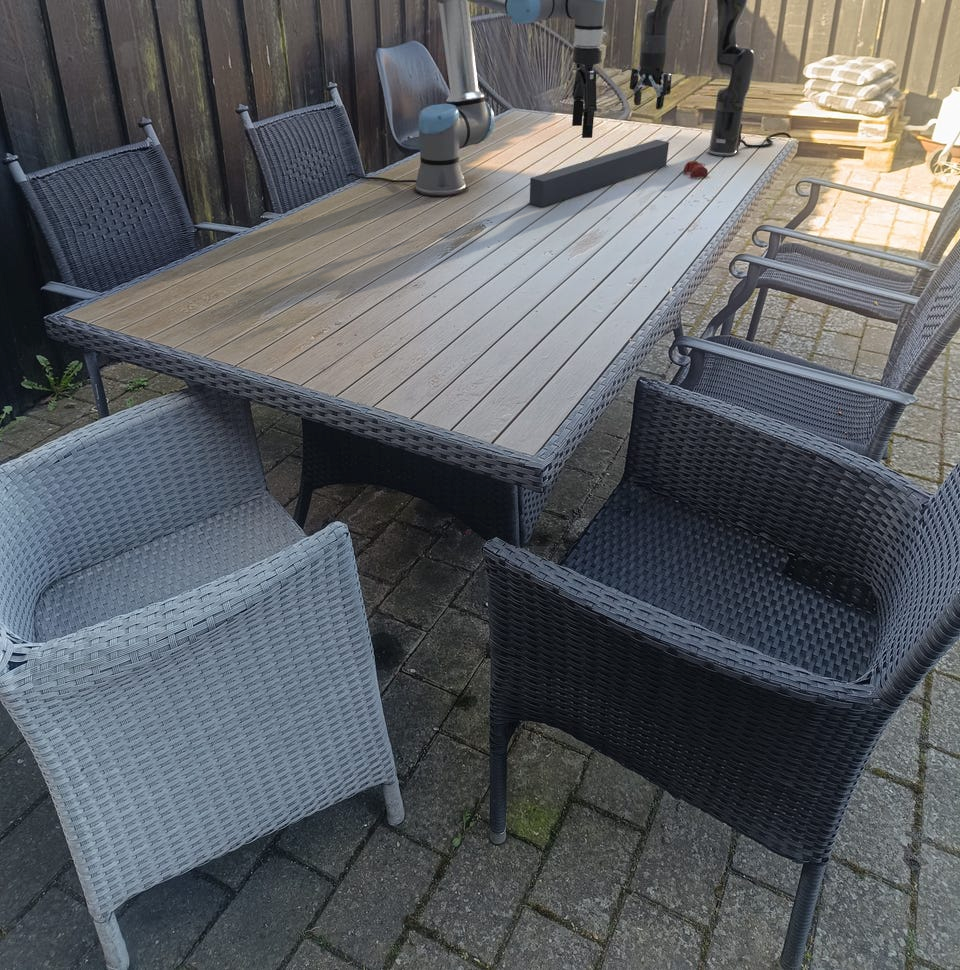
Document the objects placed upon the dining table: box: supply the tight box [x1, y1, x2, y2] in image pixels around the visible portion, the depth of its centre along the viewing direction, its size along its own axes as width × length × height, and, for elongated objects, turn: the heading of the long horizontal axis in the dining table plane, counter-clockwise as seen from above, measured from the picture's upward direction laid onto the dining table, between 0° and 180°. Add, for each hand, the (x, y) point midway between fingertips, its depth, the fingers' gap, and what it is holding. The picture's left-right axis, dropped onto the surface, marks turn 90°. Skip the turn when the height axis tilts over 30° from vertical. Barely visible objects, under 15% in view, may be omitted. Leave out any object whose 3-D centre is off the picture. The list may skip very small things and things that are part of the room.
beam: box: [529, 139, 670, 208], centre depth 262 cm, size 63×5×7 cm, turn 135°
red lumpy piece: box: [683, 160, 709, 178], centre depth 270 cm, size 6×4×8 cm
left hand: (581, 131), depth 234 cm, fingers open, 13 cm apart
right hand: (647, 107), depth 265 cm, fingers open, 8 cm apart
